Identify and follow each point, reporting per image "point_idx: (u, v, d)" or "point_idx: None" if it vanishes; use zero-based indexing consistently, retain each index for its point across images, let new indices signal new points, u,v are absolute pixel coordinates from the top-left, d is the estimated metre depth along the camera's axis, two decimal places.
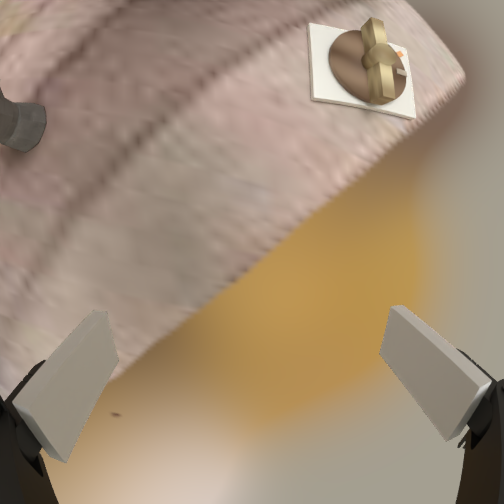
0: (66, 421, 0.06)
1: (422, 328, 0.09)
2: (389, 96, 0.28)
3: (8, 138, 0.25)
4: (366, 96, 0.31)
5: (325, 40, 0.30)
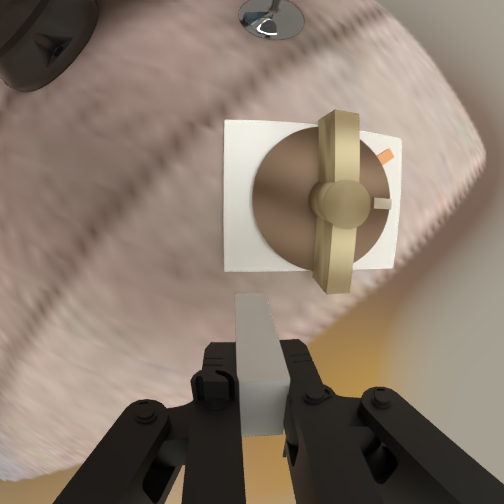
0: None
1: (260, 314, 0.11)
2: (338, 291, 0.21)
3: None
4: (308, 267, 0.24)
5: (250, 155, 0.23)
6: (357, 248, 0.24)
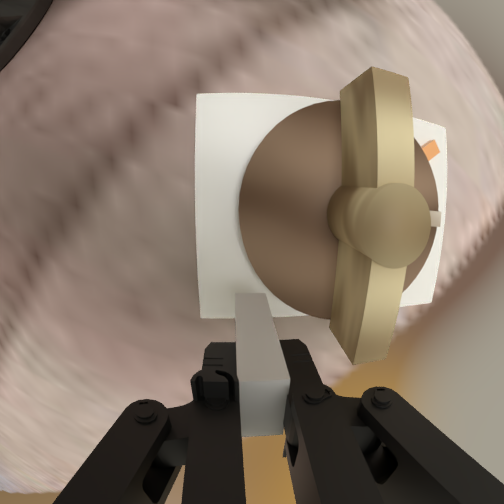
0: None
1: (260, 314, 0.11)
2: (370, 359, 0.12)
3: None
4: (324, 314, 0.16)
5: (235, 145, 0.15)
6: None
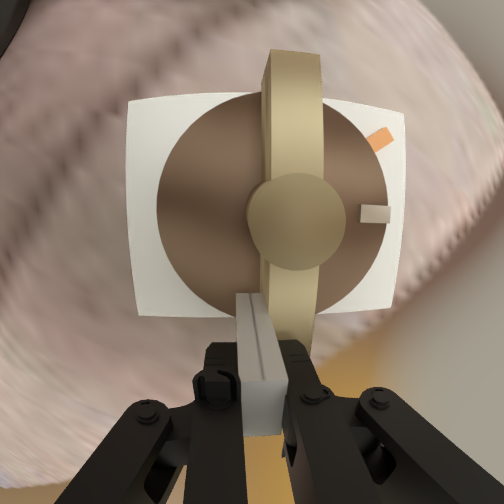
0: None
1: (258, 314, 0.11)
2: None
3: None
4: None
5: (161, 148, 0.15)
6: (332, 287, 0.15)
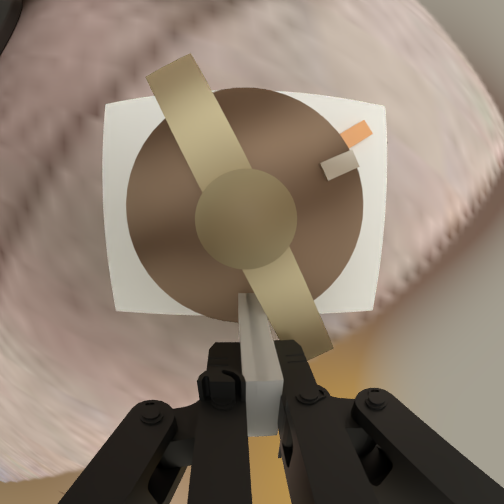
0: None
1: (255, 315, 0.11)
2: (313, 355, 0.12)
3: None
4: None
5: (135, 148, 0.14)
6: (333, 254, 0.15)
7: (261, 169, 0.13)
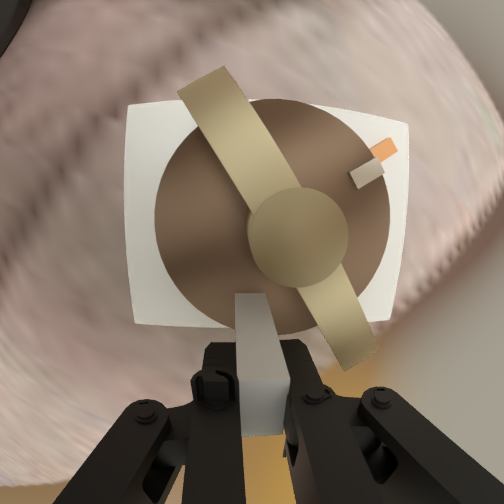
0: None
1: (260, 314, 0.11)
2: (361, 358, 0.12)
3: None
4: (309, 325, 0.15)
5: (161, 154, 0.14)
6: (365, 259, 0.15)
7: None
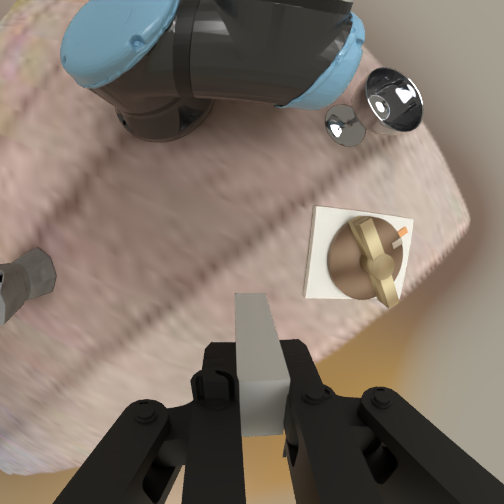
0: None
1: (260, 314, 0.11)
2: (394, 304, 0.36)
3: (25, 300, 0.32)
4: (373, 296, 0.40)
5: (329, 230, 0.39)
6: (393, 272, 0.40)
7: None
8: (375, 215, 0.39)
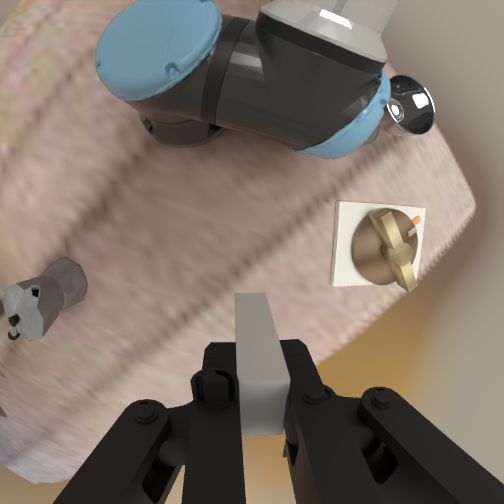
0: None
1: (260, 314, 0.11)
2: (413, 287, 0.39)
3: None
4: (393, 281, 0.43)
5: (351, 223, 0.41)
6: None
7: None
8: (391, 206, 0.41)
